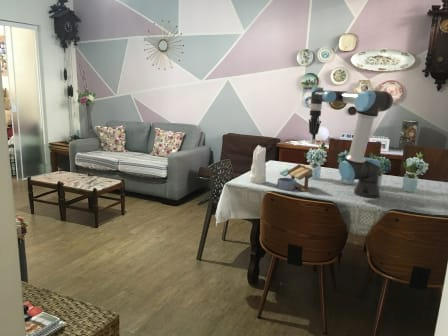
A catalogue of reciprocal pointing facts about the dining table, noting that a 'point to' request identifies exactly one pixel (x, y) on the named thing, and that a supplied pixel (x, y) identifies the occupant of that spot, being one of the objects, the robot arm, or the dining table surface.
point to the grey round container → (286, 183)
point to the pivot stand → (301, 187)
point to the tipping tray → (298, 172)
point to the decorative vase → (258, 166)
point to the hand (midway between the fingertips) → (312, 143)
